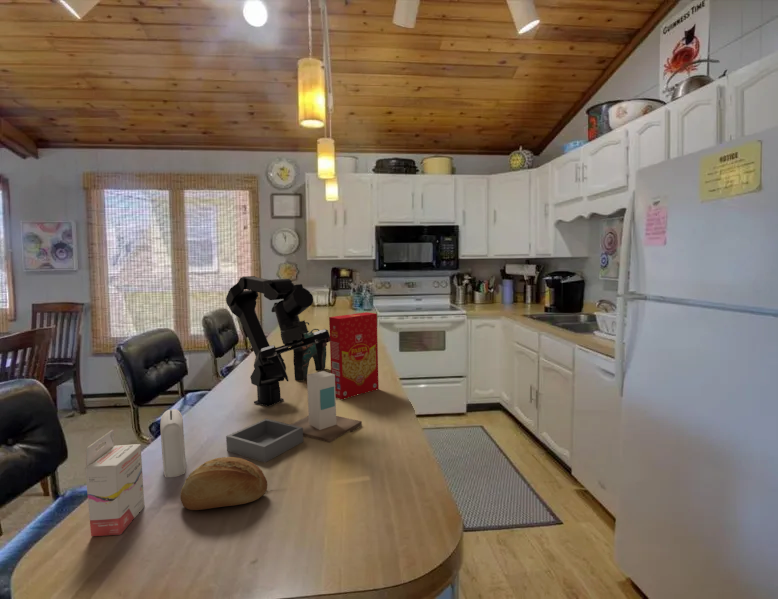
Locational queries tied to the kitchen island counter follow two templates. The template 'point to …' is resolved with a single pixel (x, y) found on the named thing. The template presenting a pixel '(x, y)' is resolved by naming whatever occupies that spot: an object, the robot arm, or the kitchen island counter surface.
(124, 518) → the ink cartridge box
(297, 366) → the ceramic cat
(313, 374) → the carton
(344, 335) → the food packaging
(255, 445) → the tub
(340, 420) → the board
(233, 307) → the robot arm
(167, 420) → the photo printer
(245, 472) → the bread roll
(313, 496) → the kitchen island counter surface
